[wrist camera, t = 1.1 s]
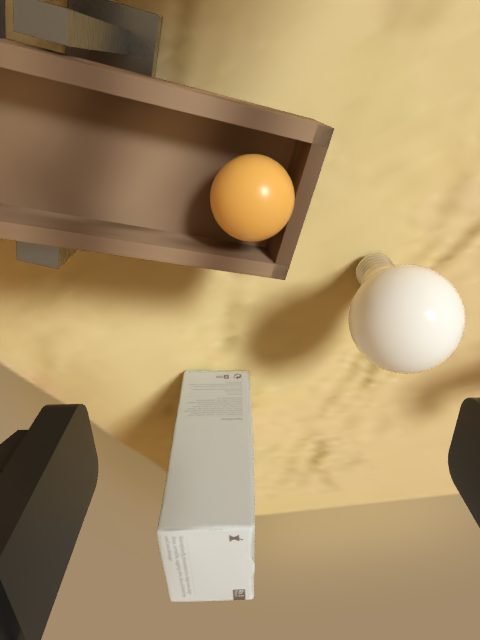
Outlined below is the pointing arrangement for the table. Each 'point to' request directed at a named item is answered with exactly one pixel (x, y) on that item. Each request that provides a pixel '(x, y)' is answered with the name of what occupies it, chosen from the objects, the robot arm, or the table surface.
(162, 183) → the lever trough
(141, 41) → the lever stand
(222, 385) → the skincare box
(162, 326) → the table surface
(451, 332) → the lightbulb
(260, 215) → the ball
